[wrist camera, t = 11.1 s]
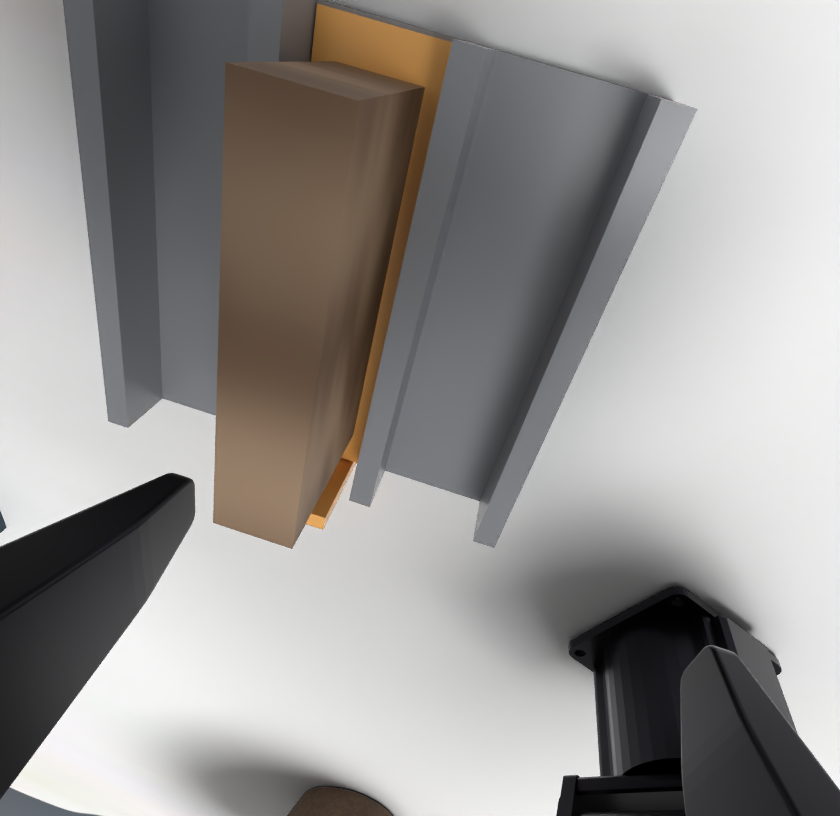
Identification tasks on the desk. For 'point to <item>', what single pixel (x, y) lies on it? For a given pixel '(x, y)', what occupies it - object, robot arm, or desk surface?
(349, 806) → the plant pot
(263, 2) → the rack
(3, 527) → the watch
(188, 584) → the desk surface
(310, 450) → the panel
